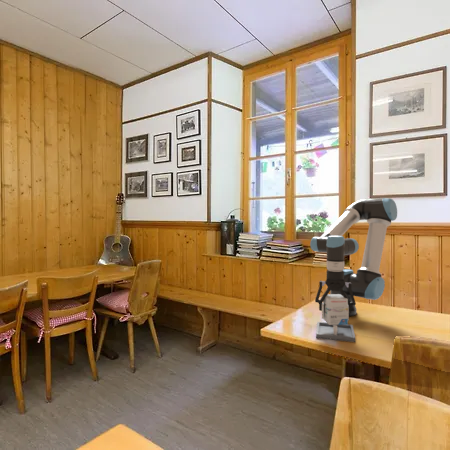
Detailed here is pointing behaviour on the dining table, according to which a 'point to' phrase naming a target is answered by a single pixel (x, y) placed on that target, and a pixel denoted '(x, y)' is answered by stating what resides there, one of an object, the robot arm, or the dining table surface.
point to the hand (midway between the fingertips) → (334, 318)
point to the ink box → (336, 309)
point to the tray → (340, 332)
